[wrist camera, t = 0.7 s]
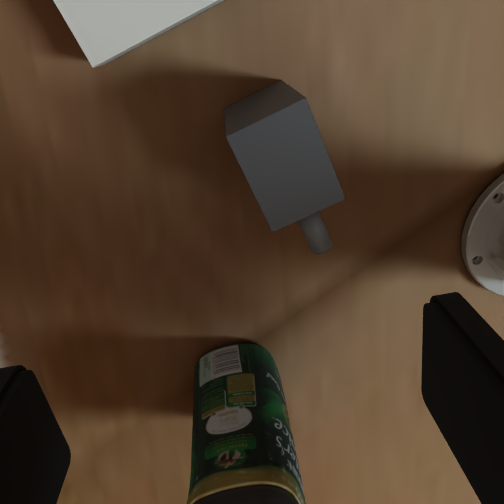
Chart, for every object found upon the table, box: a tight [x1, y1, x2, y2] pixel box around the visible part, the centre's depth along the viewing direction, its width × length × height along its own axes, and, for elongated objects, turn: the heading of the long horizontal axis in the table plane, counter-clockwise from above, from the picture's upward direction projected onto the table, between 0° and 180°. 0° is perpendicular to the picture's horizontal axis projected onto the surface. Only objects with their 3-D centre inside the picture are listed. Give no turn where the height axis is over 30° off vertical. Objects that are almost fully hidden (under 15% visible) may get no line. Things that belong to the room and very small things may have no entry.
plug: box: [223, 80, 346, 254], centre depth 29 cm, size 4×9×10 cm, turn 25°
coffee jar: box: [187, 343, 305, 504], centre depth 35 cm, size 10×8×19 cm
